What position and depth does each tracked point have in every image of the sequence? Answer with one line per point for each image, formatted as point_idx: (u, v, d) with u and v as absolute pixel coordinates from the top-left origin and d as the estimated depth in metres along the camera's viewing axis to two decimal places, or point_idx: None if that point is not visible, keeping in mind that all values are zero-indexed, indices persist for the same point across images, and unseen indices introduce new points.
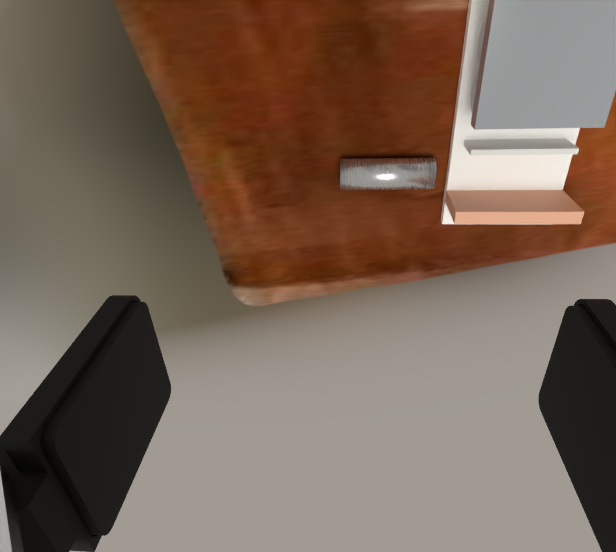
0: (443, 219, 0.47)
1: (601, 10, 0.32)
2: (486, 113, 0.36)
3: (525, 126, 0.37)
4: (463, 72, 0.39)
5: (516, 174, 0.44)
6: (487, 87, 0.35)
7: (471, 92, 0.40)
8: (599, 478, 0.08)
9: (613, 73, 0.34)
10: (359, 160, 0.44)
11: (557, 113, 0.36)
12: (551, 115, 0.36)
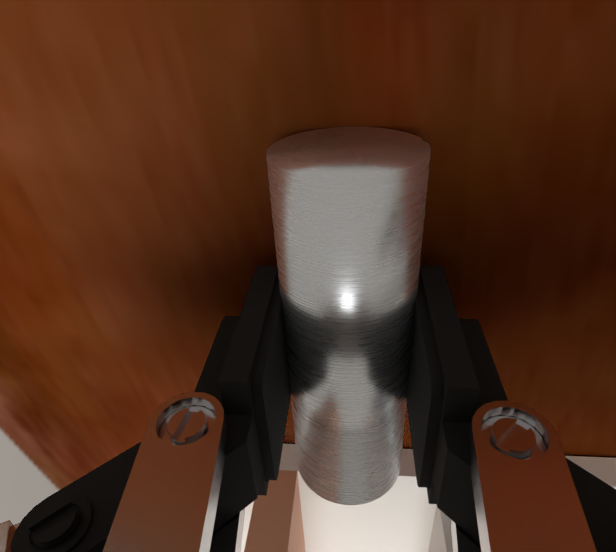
0: None
1: None
2: None
3: None
4: None
5: None
6: None
7: None
8: (415, 415, 0.09)
9: None
10: None
11: None
12: None
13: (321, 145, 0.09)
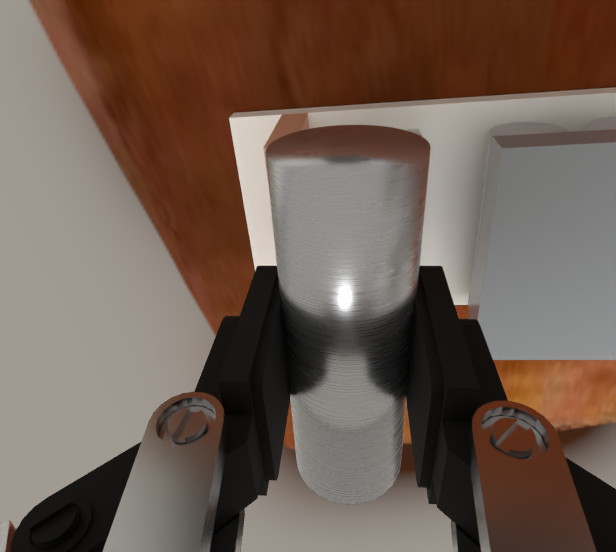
0: (240, 118, 0.21)
1: None
2: (537, 165, 0.16)
3: (492, 246, 0.18)
4: (558, 98, 0.20)
5: None
6: (596, 156, 0.16)
7: (516, 123, 0.20)
8: (415, 414, 0.09)
9: (564, 351, 0.21)
10: (421, 239, 0.09)
11: (509, 291, 0.19)
12: (508, 283, 0.19)
13: (320, 143, 0.09)
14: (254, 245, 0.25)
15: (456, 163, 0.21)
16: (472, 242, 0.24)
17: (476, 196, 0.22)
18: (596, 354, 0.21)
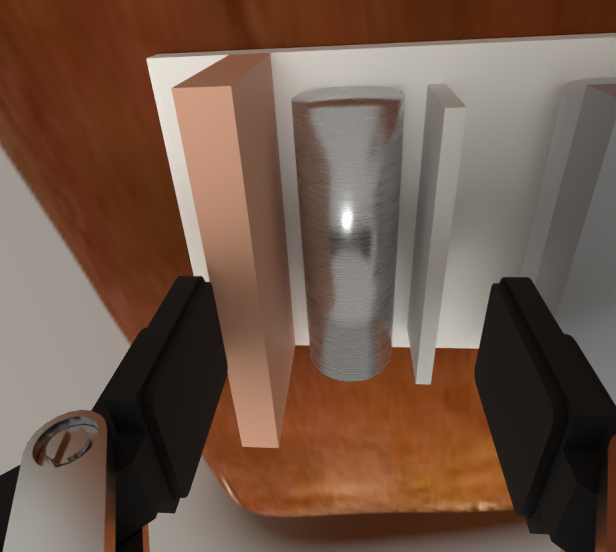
0: (163, 60, 0.13)
1: None
2: None
3: (574, 278, 0.11)
4: None
5: None
6: None
7: (603, 78, 0.13)
8: (510, 437, 0.09)
9: None
10: None
11: (592, 352, 0.12)
12: (592, 339, 0.11)
13: (329, 95, 0.12)
14: (195, 257, 0.17)
15: (500, 142, 0.14)
16: (513, 262, 0.16)
17: (526, 194, 0.15)
18: None
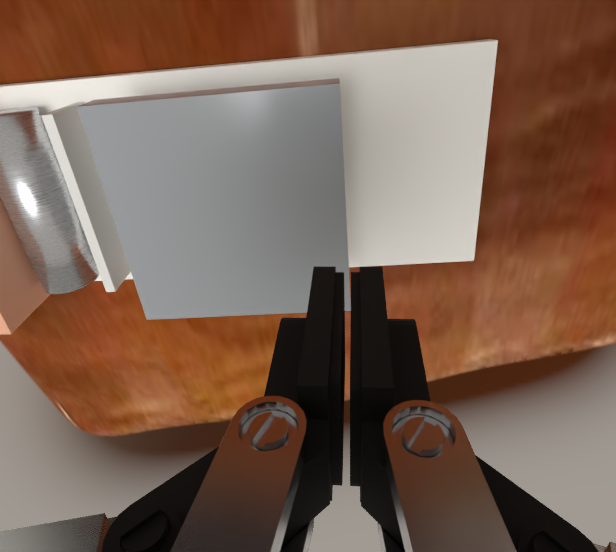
0: None
1: (306, 264, 0.20)
2: (114, 123, 0.18)
3: (112, 203, 0.19)
4: (198, 70, 0.21)
5: None
6: (161, 112, 0.17)
7: None
8: None
9: (224, 307, 0.22)
10: (36, 154, 0.21)
11: (148, 248, 0.20)
12: (143, 240, 0.20)
13: None
14: None
15: None
16: None
17: None
18: (253, 309, 0.22)
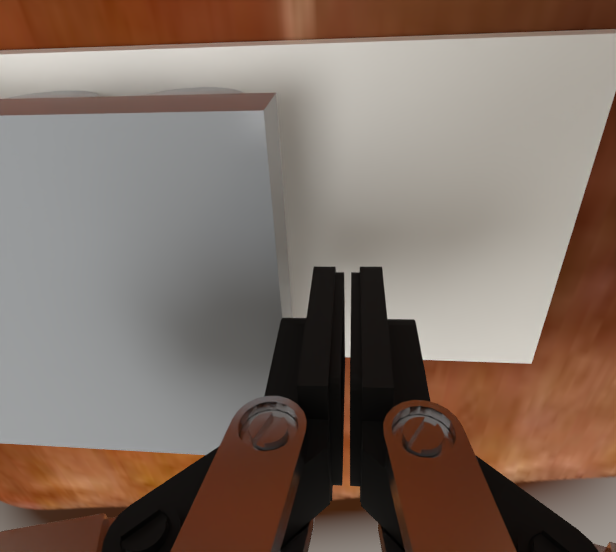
0: None
1: (220, 396, 0.12)
2: None
3: None
4: (109, 54, 0.13)
5: None
6: None
7: (60, 91, 0.13)
8: None
9: (96, 438, 0.14)
10: None
11: None
12: None
13: None
14: None
15: None
16: None
17: None
18: (142, 444, 0.14)
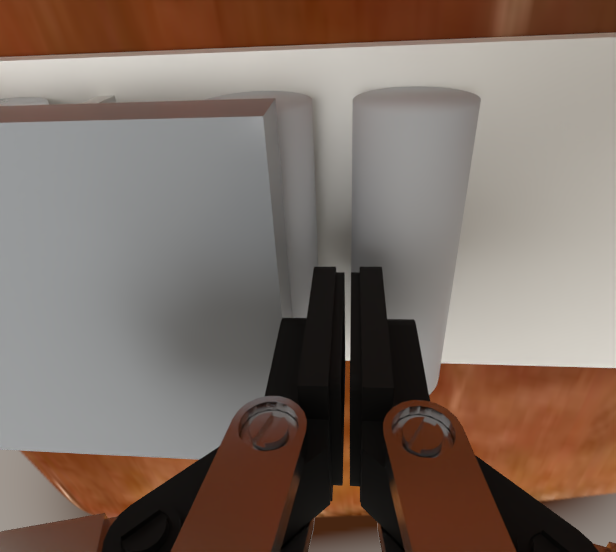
0: None
1: (221, 400, 0.12)
2: None
3: None
4: (315, 53, 0.12)
5: None
6: None
7: (257, 91, 0.12)
8: None
9: (97, 443, 0.14)
10: None
11: None
12: None
13: None
14: None
15: None
16: None
17: None
18: (143, 450, 0.14)
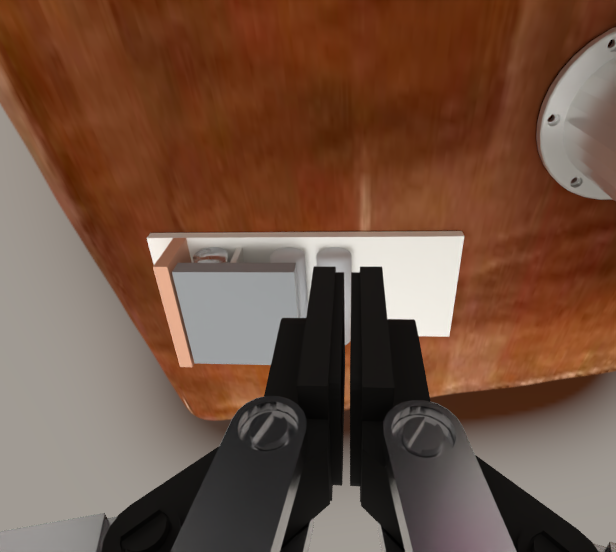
0: (152, 238, 0.41)
1: None
2: (188, 279, 0.37)
3: (183, 310, 0.39)
4: (306, 238, 0.40)
5: None
6: (211, 277, 0.37)
7: (288, 248, 0.40)
8: None
9: (235, 359, 0.42)
10: None
11: (199, 331, 0.40)
12: (196, 327, 0.40)
13: (204, 254, 0.40)
14: None
15: None
16: None
17: None
18: (250, 361, 0.42)
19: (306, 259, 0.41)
